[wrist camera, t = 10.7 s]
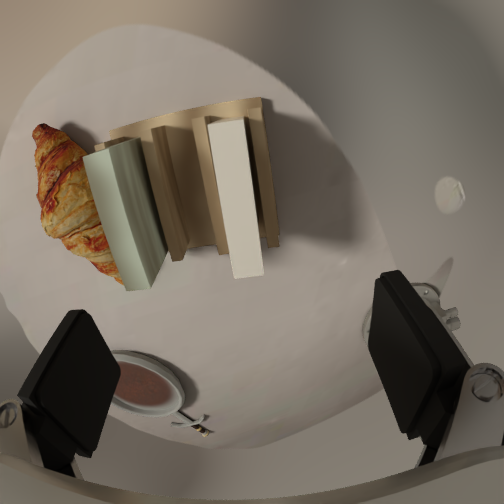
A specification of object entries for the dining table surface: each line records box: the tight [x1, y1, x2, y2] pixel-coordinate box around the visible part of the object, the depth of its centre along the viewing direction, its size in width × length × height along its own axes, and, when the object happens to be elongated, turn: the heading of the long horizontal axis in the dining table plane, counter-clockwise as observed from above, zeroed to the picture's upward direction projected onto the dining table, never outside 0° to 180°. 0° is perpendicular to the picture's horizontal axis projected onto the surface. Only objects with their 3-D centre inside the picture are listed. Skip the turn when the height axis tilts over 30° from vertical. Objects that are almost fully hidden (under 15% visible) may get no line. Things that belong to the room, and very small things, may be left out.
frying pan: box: [111, 350, 209, 436], centre depth 45 cm, size 17×3×28 cm
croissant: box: [32, 123, 124, 285], centre depth 27 cm, size 21×10×8 cm, turn 25°
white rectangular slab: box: [208, 116, 264, 279], centre depth 23 cm, size 2×11×10 cm, turn 7°
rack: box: [83, 97, 279, 291], centre depth 24 cm, size 15×14×10 cm
